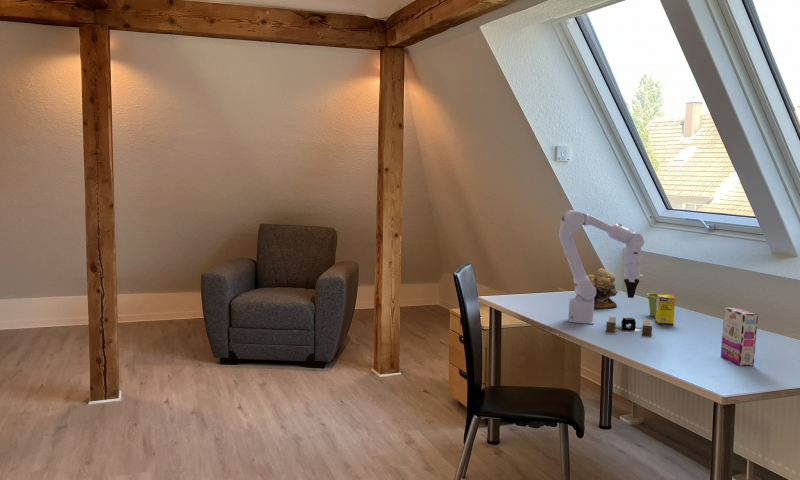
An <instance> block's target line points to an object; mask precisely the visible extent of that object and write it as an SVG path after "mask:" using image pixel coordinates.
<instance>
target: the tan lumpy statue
mask: <svg viewBox="0 0 800 480" xmlns="http://www.w3.org/2000/svg"><path fill="white" fill-rule="evenodd" d="M586 275H587V274H586ZM587 276H588V278H589V280H590V282H591V284H592V285H593V286H594V287H595V288H596V296H595V297H594V310H610V309H615V308H617V307H618V305H617V303H616V302H615V301H614V300H613V299H611V298H612V297H615V296H616V295H617V294H618V293H619V291H618V289H617V288H616V282H615V281H616V277H615V274H614V273H613V272H610V271H608V270H607V269H605V268H603V267H600V268H598V270H597V276H598V277H596V276H595V275H594V274H588V275H587Z"/></svg>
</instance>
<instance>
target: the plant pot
mask: <svg viewBox="0 0 800 480" xmlns="http://www.w3.org/2000/svg"><path fill="white" fill-rule="evenodd" d="M657 295H669V294H666V293H658V292H650V293H646V296H647V299H648V304H649V305H648V306H649V315H650V316H652V317H655V318H656V301H657Z"/></svg>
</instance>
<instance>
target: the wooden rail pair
mask: <svg viewBox="0 0 800 480" xmlns="http://www.w3.org/2000/svg"><path fill="white" fill-rule="evenodd" d="M642 323H643V324H642V330H641V331H642V332H641V335H642V336H648V337H652V334H653V325H652V324H651V320H649V319H643V321H642ZM616 324H617V323H616V317H615V316H608V320H607V321H606V325H605V327H606V328H605V332H606V333H616V329H615V327H617V326H616Z"/></svg>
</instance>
